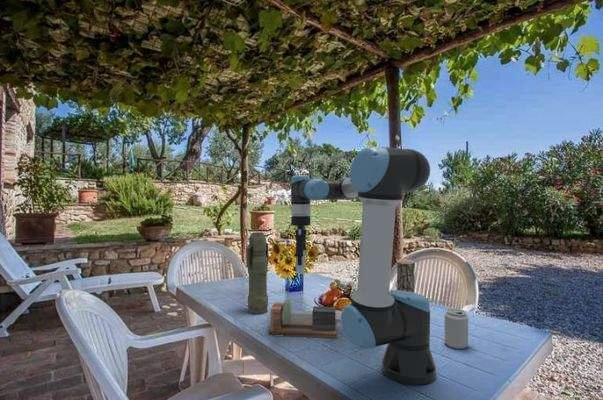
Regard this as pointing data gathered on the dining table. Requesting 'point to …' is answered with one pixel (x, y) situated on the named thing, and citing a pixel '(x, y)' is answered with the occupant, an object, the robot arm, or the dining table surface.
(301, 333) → the tube rig
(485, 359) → the dining table surface
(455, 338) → the can
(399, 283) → the bark textured post
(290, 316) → the pale green block
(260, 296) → the thermos
